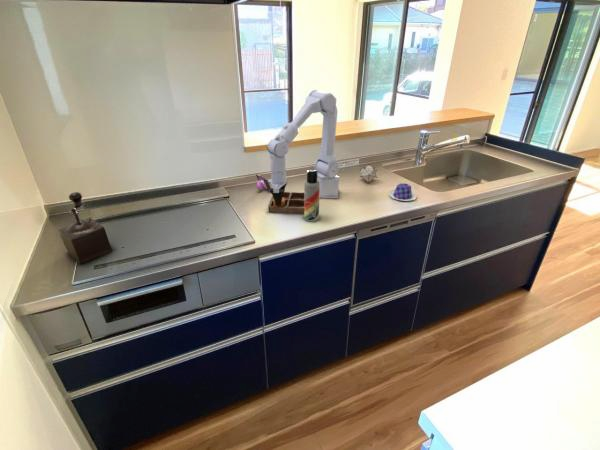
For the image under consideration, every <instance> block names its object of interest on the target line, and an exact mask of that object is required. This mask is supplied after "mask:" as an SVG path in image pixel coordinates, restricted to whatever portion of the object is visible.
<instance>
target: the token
mask: <svg viewBox="0 0 600 450" xmlns="http://www.w3.org/2000/svg"><path fill="white" fill-rule="evenodd" d="M273 205H274V206H283V207H284V206H285V198H283V197H282V203H281V205H276V204H275V201H274V199H273Z"/></svg>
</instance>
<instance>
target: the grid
mask: <svg viewBox="0 0 600 450" xmlns="http://www.w3.org/2000/svg"><path fill="white" fill-rule="evenodd" d="M283 198H285V206H284V207H283V206H274V205H273V199H274V197H273V195H272V196H271V199H270V201H269V204H268V213H270V214H293V215H294V214H295V215H304V191H303V192H302V191H301V192H300V191H284V196H283Z"/></svg>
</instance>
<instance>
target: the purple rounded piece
mask: <svg viewBox="0 0 600 450" xmlns="http://www.w3.org/2000/svg"><path fill="white" fill-rule="evenodd" d="M255 176H256V179H257V183H256V188H257V189H258V190H259V191H258V192H259V193H261V191H262V190H263V189H265V190H267V191H268V192H270V189H271V188H272V186H271V185H270V183H268V181H269V179H267V178H265V177H262V176H261V175H259V174H255Z"/></svg>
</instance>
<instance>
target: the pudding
mask: <svg viewBox="0 0 600 450" xmlns="http://www.w3.org/2000/svg"><path fill="white" fill-rule="evenodd" d="M388 195H389V197H391V198H392V199H394V200H397V201H404V202H409V201H413V200H416V199H417V197H418V196H417V194H416V193H415V192H413V190H412V186H411V185H410V184H408V183H405V182H402V183H401V182H399V183H398V184H397V185H396V187H395V189H391V190H389V192H388Z"/></svg>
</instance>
